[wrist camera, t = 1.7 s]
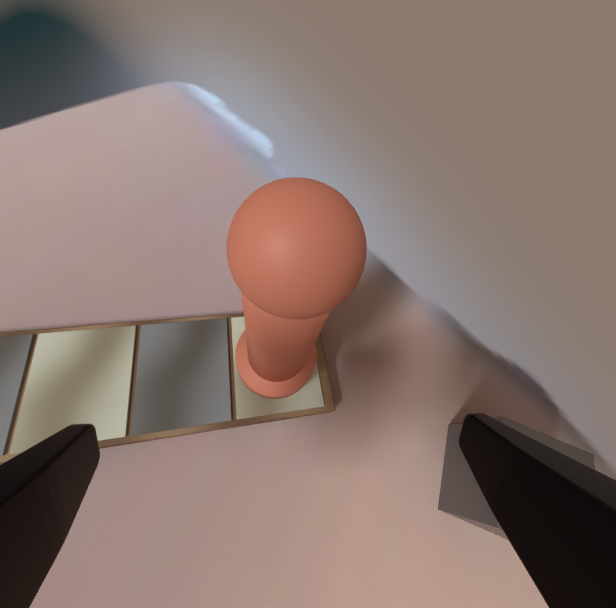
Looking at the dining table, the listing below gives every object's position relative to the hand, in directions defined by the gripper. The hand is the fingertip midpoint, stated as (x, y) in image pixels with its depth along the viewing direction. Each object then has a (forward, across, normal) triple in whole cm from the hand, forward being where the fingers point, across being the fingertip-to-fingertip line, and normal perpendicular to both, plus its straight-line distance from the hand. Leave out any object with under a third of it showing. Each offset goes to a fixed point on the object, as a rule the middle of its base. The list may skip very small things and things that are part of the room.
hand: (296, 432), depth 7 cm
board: (+11, +8, +6) cm, 15 cm away
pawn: (+11, 0, +4) cm, 12 cm away
